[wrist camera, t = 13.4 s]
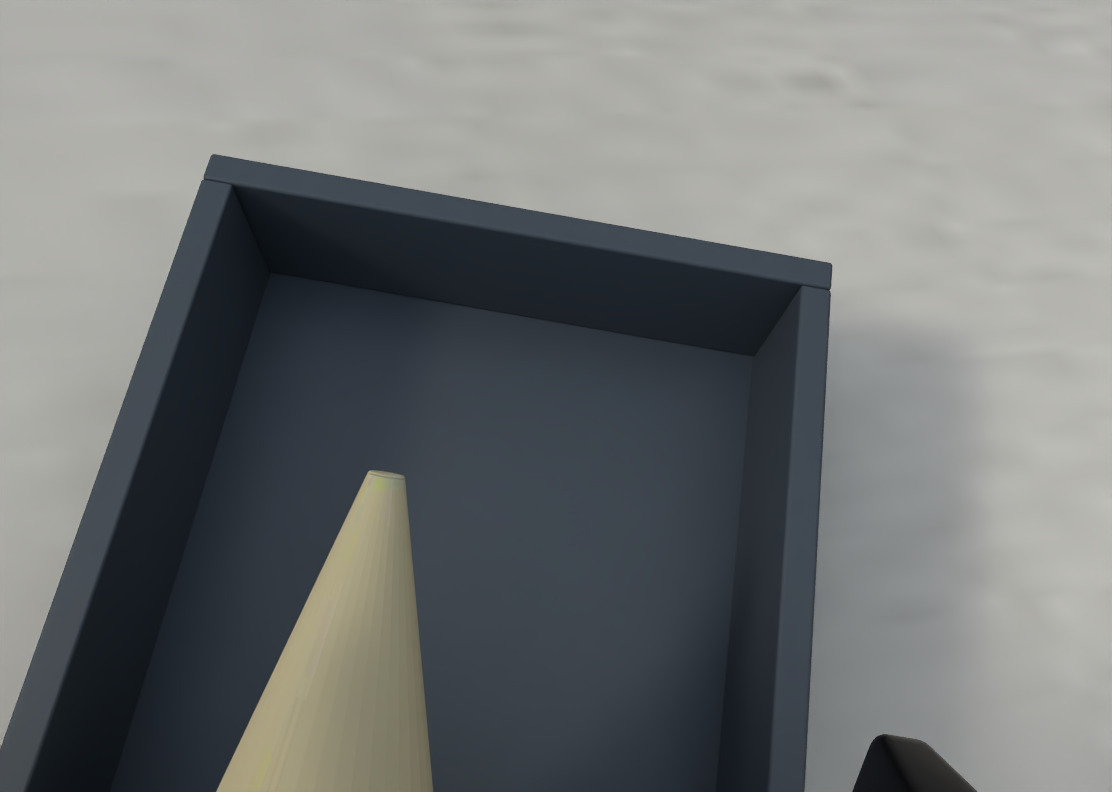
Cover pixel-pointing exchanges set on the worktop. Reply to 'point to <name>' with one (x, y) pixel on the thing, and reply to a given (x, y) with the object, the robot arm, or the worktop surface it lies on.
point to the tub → (453, 494)
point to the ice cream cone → (348, 670)
